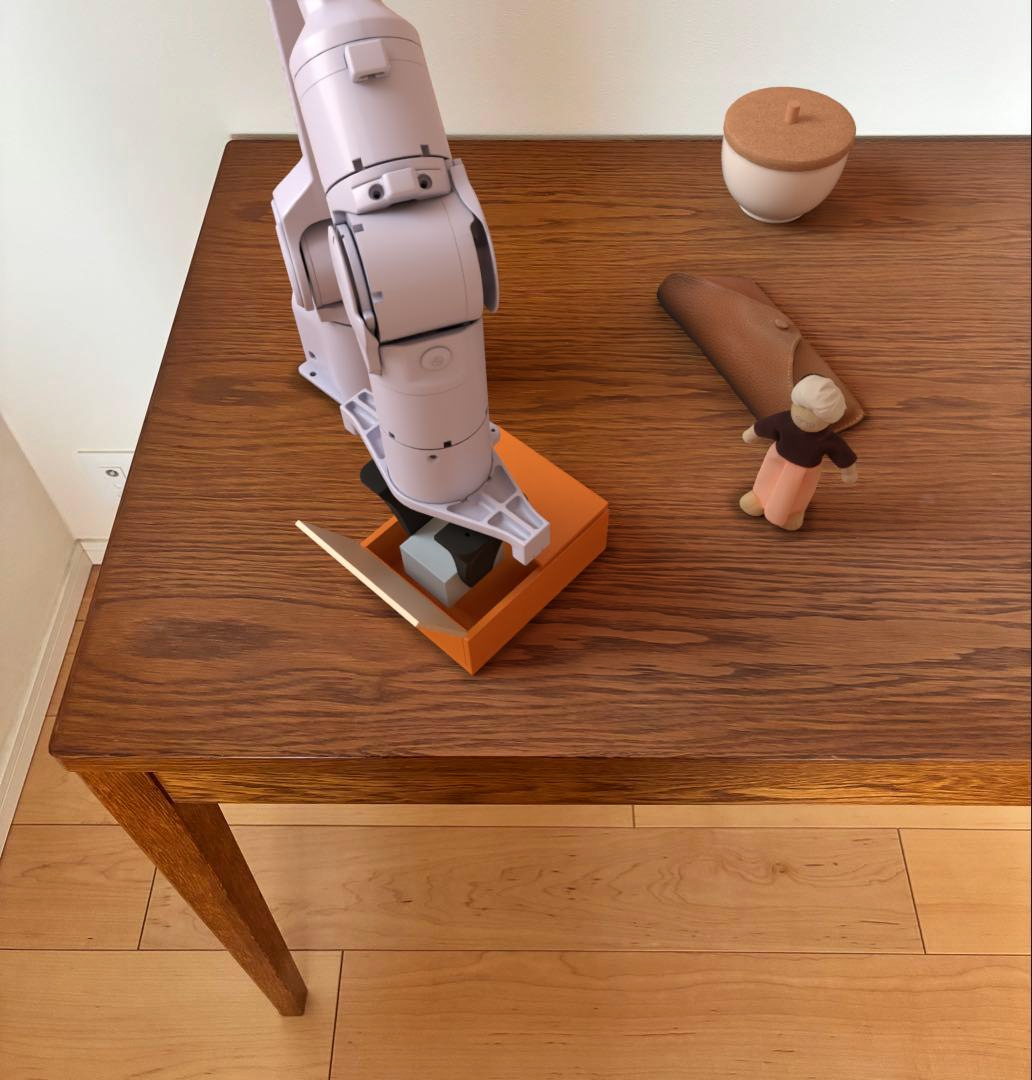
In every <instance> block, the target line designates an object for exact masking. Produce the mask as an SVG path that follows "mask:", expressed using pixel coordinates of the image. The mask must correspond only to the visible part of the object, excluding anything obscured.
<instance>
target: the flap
mask: <svg viewBox="0 0 1032 1080" xmlns="http://www.w3.org/2000/svg"><path fill="white" fill-rule="evenodd" d="M294 525H295V526H296V527H297V528H298V529H299V530H300V531H302V532H303V533H304V534H305V535H306V536H308V537H309V538H310V539H311V540H312V541H314V542H315V543H316V544H317V545H318V546H320V547H321V548H322V549H323V551H325V552H326V553H328V554H329V555H330V557H332V558H333V559H335V561H337V562H338V563H339V564H341V566H343V567H344V568H345V569H346V570H348V571H349V572H350V573H351V574H352V575H354V576H355V577H356V578H357V579H358V580H360V582H362V583H363V584H364V585H365V586H366V587H368V589H370V590H371V591H372V592H373V593H375V594H376V595H377V596H378V597H379V598H381V600H383V601H384V602H385V603H386V604H388V606H390V607H391V608H392V609H394V610H395V611H396V612H397V613H398V614H399V615H400V616H402V618H404V619H405V620H406V621H408V622H409V623H410V624H411V625H412V626H413V627H415V628H416V627H418V628H422V629H427V630H431V631H436V632H440V633H444V634H449V635H453V636H457V637H462V638H465V637H466V635H467V633H466V632H465V631H464V630H463V629H462V628H460V627H459V626H458V625H457V624H456V623H454V622H453V621H452V620H451V619H450V618H448V617H447V616H446V615H445V614H444V613H442V612H441V611H440V610H439V609H438V608H436V607H435V606H434V605H433V604H432V603H430V602H429V601H428V600H427V599H425V598H424V597H423V596H422V595H421V594H419V593H418V592H417V591H416V590H415V589H413V588H412V587H411V586H410V585H409V584H407V583H406V582H405V581H404V580H403V579H401V578H400V577H399V576H398V575H397V574H395V573H394V572H393V571H392V570H390V569H389V568H388V567H387V566H386V565H384V564H383V563H382V562H381V561H380V560H378V559H377V558H376V557H375V556H374V555H372V554H371V553H370V552H369V551H368V550H366V549H365V548H364V547H363V546H362V545H360V543H359V542H358V541H357V540H356V539H353V538H350V537H347V536H345V535H341V534H339V533H336V532H333V531H331V530H328V529H325V528H322V527H320V526H317V525H314V524H311V523H309V522H306V521H304V520H300V519H298V520H297V521H296V522H295V524H294Z"/></svg>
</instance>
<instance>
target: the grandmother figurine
mask: <svg viewBox="0 0 1032 1080" xmlns="http://www.w3.org/2000/svg"><path fill="white" fill-rule="evenodd" d="M791 397H792V401H793V404H792V407H791V410H788V411H782V412H779V413H776V414H773V415H770V416H767V417H765V418H762V419H759V420H756V421H755V422H754V423H753V424H752V425H751V426H750V427H749V428H747V429H746V430H745V431H744V432H743V434H742V440H743V442H744V443H745V444H747V445H753V444H755V443H757V442H758V440H761V439H762V438H765V439H768V440H771V441H773V440H775V442H774V441H773V443H772V444H771V445H770V447H769V448H768V450H767V452H766V454H765V457H764V458H763V461H762V464H761V466H760V469H759V471H758V472H757V475H756V478H755V481H754V484H753V486H752V490H750V491H747V493H744V495H743V496H741V498H740V499H739V507H740V508H741V510H742V511H743V512H744V513H746V514H747V515H749V516H752V517H760V516H762V515H764V517H765V519H766V520H767V521H769V522H770V524H772V525H775V526H778V527H780V528H781V529H784V530H786V531H796V530H798V529H800V528H801V527H802V526H803V523H804V518H805V513H806V510H807V508H808V506H809V504H810V502H811V500H812V498H813V496H814V494H815V492H816V489H817V486H818V483H819V481H820V478H821V475H822V471H823V466H824V456H825V455H826V456H827V457H828V458H829V460H830V462H832V463H833V464H834V465H835V466H836V467H837V468H838V469H839V472H840V476H841V477H840V478H841V480H842V482H843V483H845V484H846V485H852V484H855V483H856V482H857V481H858V480H859V473H858V471H857V464H856V463H857V461H858V455H857V454H856V452H854V450H853V449H852V448H851V446H850V445H849V444H848V443H847V441H846V440H845V439H844V438H843V437H842V436H840V435H839V434H835V433H834V432H833V431H832V430H831V428H830V427H829V426H828V425H829V424H830V423H834V422H837V421H838V420H839V419H840V418H841V417H842V416H843V414H844V411H845V409H847V407H846V404H845V399H844V396H843V394H842V392H841V390H840V389H839V388H838V387H837V386H836V385H835V384H834V382H833V381H832V380H831V379H829V378H824V377H820V376H817V375H811V376H808V377H806V378H804V379H803V380H801V381H800V382H799V383H798V384H797V385H796V386H795V387H794V389H793V391H792V395H791Z"/></svg>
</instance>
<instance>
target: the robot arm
mask: <svg viewBox="0 0 1032 1080" xmlns="http://www.w3.org/2000/svg"><path fill="white" fill-rule="evenodd" d="M264 1H265V4H266V8H267V12H268V17H269V21H270V25H271V30H272V33H273V37H274V41H275V42H274V43H275V47H276V51H277V54H278V58H279V62H280V63H279V64H280V67H281V71H282V74H283V79H284V84H285V87H286V91H287V95H288V100H289V104H290V109H291V113H292V118H293V120H294V121H293V122H294V125H295V130H296V133H297V137H298V143H299V146H300V149H301V154H302V157H301V159H300V160H299V161H298V162H297V164H296V165H295V166H294V167H292V169H291V170H290V172H288V174H287V175H286V176H284V178H283V179H282V180H281V181H280V182H279V184H277V186H276V187H275V188H274V190H273V191H272V197H273V199H272V200H271V201H270V205H271V209H272V213H273V216H274V221H275V224H276V225H275V231H276V235H277V239H278V243H279V246H280V247H279V248H280V250H281V254H282V257H283V261H284V264H285V268H286V272H287V275H288V279H289V282H290V285H291V289H292V295H291V308H292V312H293V316H294V319H295V323H296V327H297V330H298V335H299V337H300V342H301V346H302V349H303V352H304V356H305V359H306V361H305V362H303V363H302V364H300V365H299V366H298V373H299V375H300V376H301V377H303V378H305V379H306V380H307V381H309V382H310V383H311V384H313V385H314V386H315V387H317V388H318V389H319V390H320V391H322V392H324V393H325V395H327V396H328V397H330V398H331V399H333V400H334V401H335V402H337V404H339V405H340V406H339V410H340V414H341V417H342V421H343V427H344V429H345V430H347V431H348V432H349V433H350V434H352V435H353V436H359V437H360V438H361V440H362V442H363V443H364V446H365V447H366V449H367V450H368V452H369V455H370V456H371V459H370V460H369V461H368V462H367V463H365V464H363V466H362V468H361V469H360V471H359V479H360V482H361V484H363V485H364V486H365V487H367V489H369V490H370V491H371V492H373V493H374V494H375V495H377V496H378V497H379V498H380V499H381V500H382V501H383V502H384V503H385V504H386V506H387V507H388V508H389V509H390V511H391V512H392V514H393V516H394V515H395V517H396V518H397V520H398V521H399V523H400V525H401V526H402V528H403V529H404V531H405V533H406V534H407V536H408V537H409V538H410V537H411V536H412V535H414V534H415V533H416V532H417V531H418V530H419V529H421V528H422V527H423V526H424V525H425V524H427V523H428V522H429V521H430V520H431V519H433V518H434V517H436V518H439V519H442V520H445V521H448V522H449V523H448V524H447V525H446V526H445V527H443V528H442V529H441V530H440V531H439V532H438V533H436V534H435V535H434V540H435V541H436V542H438V543H439V544H440V545H441V546H443V547H444V548H445V549H446V550H448V551H449V553H450V554H451V556H452V558H453V560H454V562H455V566H456V569H457V573H458V575H459V577H460V579H461V580H462V581H463V583H465V584H466V585H467V586H468V587H470V588H473V587H474V586H475V585H476V584H477V583H478V582H479V581H480V580H481V579H483V578H484V577H485V576H486V575H487V574H488V573H489V572H490V571H491V570H492V569H493V566H494V562H495V559H496V556H497V554H498V551H499V549H500V547H501V544H502V542H503V541H505V542H507V543H509V544H511V546H512V551H513V557H514V558H515V559H517V560H518V561H519V562H521V563H522V564H523V565H527V564H528V563H529V562H530V561H532V560H533V559H534V558H535V557H536V556H537V555H538V554H539V553H541V552H542V550H543V549H545V548H546V547H547V546H548V545H549V544H550V523H549V522H548V521H547V520H546V519H544V518H543V517H542V516H541V515H540V514H539V513H538V512H536V510H535V509H534V508H533V507H532V506H531V504H530V503H529V502H528V498H527V496H526V495H525V494H524V493H523V492H522V491H521V489H520V488H519V486H518V485H517V483H516V482H515V480H514V479H513V477H512V476H511V474H510V473H509V471H508V469H507V468H506V466H505V465H504V463H503V462H502V460H501V459H500V457H499V456H498V454H497V452H496V451H495V449H494V448H493V447H494V445H496V444H497V443H498V442H499V440H500V429H499V428H498V426H499V425H498V426H496V425H497V424H495V423H494V422H493V421H490V411H489V410H490V409H489V395H488V379H487V363H486V350H485V336H484V335H485V334H484V320H483V311H484V307H485V309H486V310H487V311H488V312H489V313H491V314H494V313H496V312H497V311H498V310H499V305H500V283H499V275H498V264H497V259H496V253H495V248H494V244H493V239H492V236H491V232H490V229H489V226H488V223H487V220H486V216H485V214H484V212H483V209H482V206H481V202H480V200H479V198H478V196H477V193H476V192H475V190H474V188H473V186H472V185H471V182H470V180H469V177H468V174H467V170H466V168H465V167H466V166H465V164H463V161H462V158H461V157H458V158H453V156H452V152H451V149H450V146H449V141H448V138H447V133H446V131H445V126H444V124H443V120H442V116H441V112H440V107H439V104H438V100H437V96H436V92H435V90H434V86H433V83H432V79H431V75H430V71H429V67H428V64H427V60H426V56H425V53H424V49H423V45H422V42H421V39H420V38H421V37H420V34H419V32H418V30H417V29H416V27H415V26H414V25H413V24H412V23H411V22H409V21H408V20H407V19H405V18H404V17H403V16H401V15H399V14H398V13H396V12H395V11H393V10H392V9H391V8H390V7H388V6H387V5H386V4H385V3H384V2H383V1H382V0H264Z"/></svg>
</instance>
